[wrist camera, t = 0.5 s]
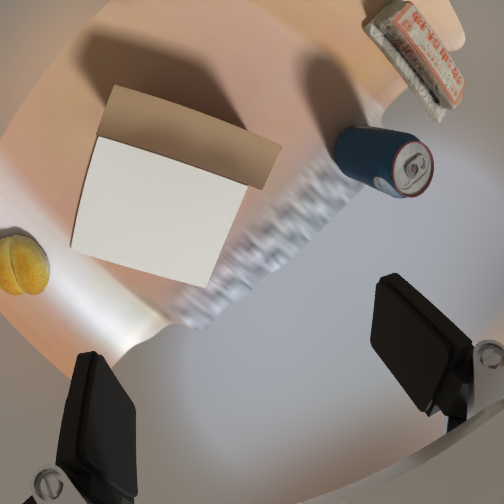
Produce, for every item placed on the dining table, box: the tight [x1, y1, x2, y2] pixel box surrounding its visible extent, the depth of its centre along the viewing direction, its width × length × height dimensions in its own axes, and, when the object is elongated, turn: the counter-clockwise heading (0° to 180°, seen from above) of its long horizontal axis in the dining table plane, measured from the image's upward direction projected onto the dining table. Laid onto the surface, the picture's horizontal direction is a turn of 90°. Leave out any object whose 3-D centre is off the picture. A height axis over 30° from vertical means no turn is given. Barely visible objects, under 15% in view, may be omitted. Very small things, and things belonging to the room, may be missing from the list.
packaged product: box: [363, 0, 466, 123], centre depth 31 cm, size 18×5×10 cm
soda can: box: [335, 125, 434, 198], centre depth 32 cm, size 7×7×12 cm
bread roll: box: [0, 235, 50, 295], centre depth 31 cm, size 8×9×4 cm
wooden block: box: [96, 85, 282, 190], centre depth 27 cm, size 4×14×11 cm, turn 67°
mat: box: [71, 136, 248, 288], centre depth 35 cm, size 14×18×1 cm
